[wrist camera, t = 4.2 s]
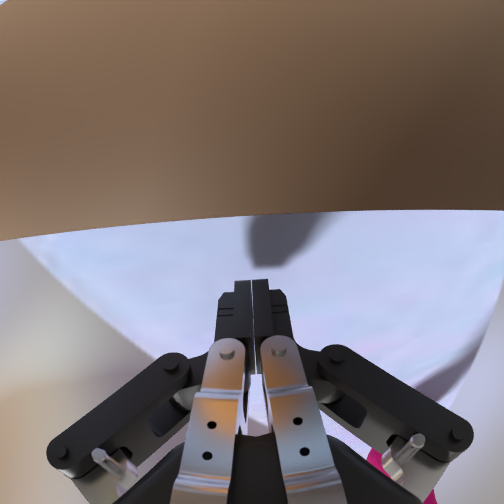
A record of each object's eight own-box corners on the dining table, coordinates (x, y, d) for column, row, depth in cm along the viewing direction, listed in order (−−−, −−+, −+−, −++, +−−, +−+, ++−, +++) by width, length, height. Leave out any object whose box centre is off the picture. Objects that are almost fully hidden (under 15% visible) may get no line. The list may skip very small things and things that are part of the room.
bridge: (69, 86, 10) (-121, 135, 1) (408, 63, 10) (605, 83, 1) (77, 147, 11) (-93, 257, 3) (408, 125, 11) (592, 215, 3)
